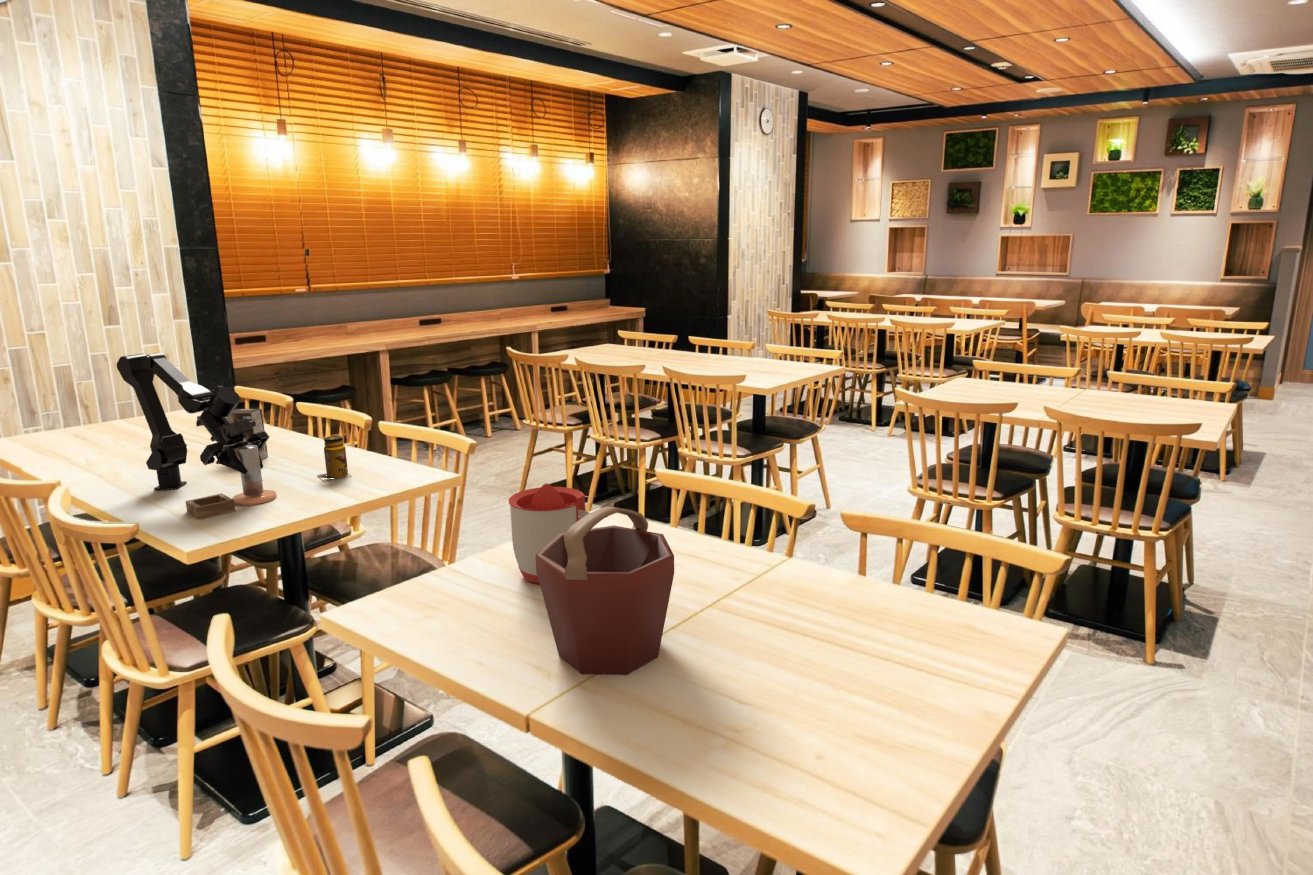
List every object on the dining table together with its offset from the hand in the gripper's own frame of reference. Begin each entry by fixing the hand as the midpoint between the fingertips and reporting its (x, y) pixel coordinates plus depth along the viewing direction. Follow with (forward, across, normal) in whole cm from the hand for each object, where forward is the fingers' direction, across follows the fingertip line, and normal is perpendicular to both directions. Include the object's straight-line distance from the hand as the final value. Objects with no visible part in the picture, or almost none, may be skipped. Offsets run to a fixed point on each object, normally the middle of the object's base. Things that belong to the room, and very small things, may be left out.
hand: (254, 470), depth 225 cm
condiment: (+8, +25, +4) cm, 27 cm away
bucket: (+96, -41, -85) cm, 134 cm away
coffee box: (-21, +32, +34) cm, 51 cm away
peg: (+4, 0, +6) cm, 7 cm away
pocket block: (+4, -12, +8) cm, 15 cm away
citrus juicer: (+78, -15, -67) cm, 104 cm away
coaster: (+5, 0, +7) cm, 8 cm away
